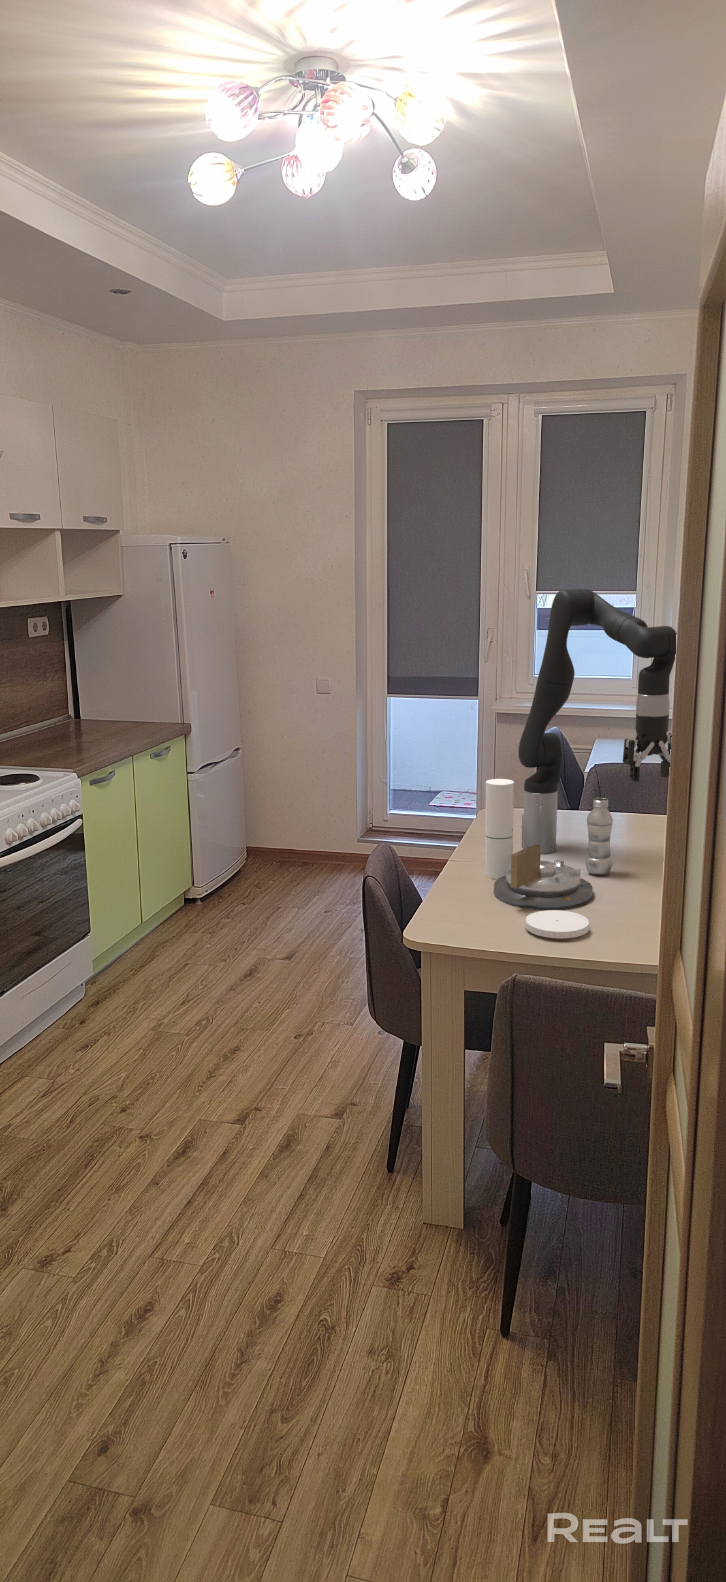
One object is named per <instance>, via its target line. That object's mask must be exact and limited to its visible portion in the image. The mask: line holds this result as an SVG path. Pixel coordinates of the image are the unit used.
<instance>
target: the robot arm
mask: <svg viewBox="0 0 726 1582" xmlns="http://www.w3.org/2000/svg"><path fill="white" fill-rule="evenodd" d="M548 621H549V622H548V629H547V634H546V635H547V636H546V642H545V646H544V647H545V648H544V652H543V656H542V657H543V658H542V661H541V664H540V669H539V672H538V677H537V680H536V685H535V690H534V696H533V700H532V703H531V706H530V710H529V713H528V717H527V720H526V722H525V726H524V728H523V731H522V734H521V737H520V740H519V745H518V753H517V754H518V760H519V762H520V764H521V765H522V766H523V767H524V768H529V769H530V768H531V769H532V768H533V769H534V768H538V769H537V770H536V771H535V772H534V774H532V775H531V776H529V777H527V778H526V779H525V780H524V783H523V788H524V789H523V814H522V815H521V847H522V850H523V849H525V848H527V847H530V846H532V845H534V844H537V845H541V852H540V854H550V853H554V852H555V851H556V850H557V833H558V832H557V830H558V829H557V828H558V827H557V826H558V825H557V824H558V792H559V790H558V789H559V788H558V786H559V783H560V780H561V772H562V771H561V770H562V758H563V747H562V742H561V739H560V738H559V736H558V735H557V734H556V733H554V732H546V729H547V728H548V725H549V724H550V722H551V721H552V719H554V717H555V716H556V714H558V712H559V711H560V710H561V709H562V708H563V706H564V705H565V704H566V702H567V701H568V700H569V698H570V693H571V692H572V691H571V690H572V686H573V682H574V681H575V680H574V679H575V668H574V665H573V661H572V658H571V656H570V653H569V650H568V643H567V642H568V637H569V636H568V635H569V633H570V632H569V631H570V628H571V627H573V626H575V627H576V626H577V627H578V626H579V627H580V626H586V625H594V626H599V627H602V629H603V631H604V633H605V634H606V636H608V637H609V638H610V639H611V640H614V641H615V642H617V643H619V644H621V645H624V646H626V648H627V649H628V650H630V652H631V653H632V654H633V655H635V656H636V657H638V658H642V659H652V662H651V664H650V665H648V666H646V667H644V668H642V669H640V671H638V677H637V678H638V681H637V698H636V705H635V707H636V708H635V728H634V729H635V732H636V733H635V734H636V737H635V738H628V737H627V738H625V739H624V741H623V742H624V743H623V752H622V753H623V754H622V762H623V764H626V765H629V767H630V769H629V778H630V779H631V781H632V782H635V783H639V782H640V771H641V768H640V767H641V766H640V765H641V764H642V761H643V760H645V759H646V757H648V756H653V755H658V756H659V758H660V760H661V761H660V774H659V775H660V776H661V778H664V779H666V778H669V775H670V774H669V767H670V768H671V764H670V749H671V737H672V734H673V733H672V732H669V725H670V724H669V723H670V693H669V692H670V676H671V673H672V670H673V667H674V664H675V661H676V658H675V654H676V634H677V635H678V633H677V631H676V630H675V628H673V627H672V626H668V625H663V626H662V625H661V626H659V625H658V626H648V625H647V623H646V622H645V621H644V620H643V619H642V618H640V617H637V616H635V615H633V614H630V613H627V612H625V611H623V610H621V609H618V608H617V607H615V606H614V605H612V604H611V603H609V602H608V601H607V600H606V599H604V598H603V597H601V595H599V594H597V593H596V592H594V591H592V590H591V589H587V588H571V589H568V588H567V589H562V590H559V591H558V592H557V593H556V594H555V596H554V598H553V600H552V604H551V608H550V614H549V620H548ZM676 655H677V654H676ZM668 732H669V733H668ZM666 744H667V746H665V745H666Z"/></svg>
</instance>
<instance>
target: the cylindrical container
mask: <svg viewBox="0 0 726 1582" xmlns="http://www.w3.org/2000/svg"><path fill="white" fill-rule="evenodd" d="M514 790H515V781H514V780H511V779H507V778H491V779H488V780H486V781H485V821H484V822H485V830H484V831H485V832H484V833H485V838H484V840H485V842H484V843H485V844H484V846H485V847H484V849H485V851H484V853H485V854H484V856H485V857H484V858H485V859H484V875H485V877H487V878H489V879H493V880H497V879H499V878H501V877H503V876H506V871H507V866H509V867H511V855H512V854H514V803H515V800H514V799H515V797H514V796H515V792H514Z"/></svg>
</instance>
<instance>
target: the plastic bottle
mask: <svg viewBox="0 0 726 1582" xmlns="http://www.w3.org/2000/svg"><path fill="white" fill-rule="evenodd" d="M592 801H593V802H592V803H593V804H592V809H591V811H590V812H589V813H588V814H587V817H586V824H587V826H586V827H587V832H588V834H587V835H588V837H587V838H588V846H587V847H588V848H587V855H586V858H585V859H586V860H585V868H586V871H587V872H588V873H589V874H591V875H598V876H605V875H608V874H609V873H610V872H611V870H612V867H613V862H612V856H611V834H612V828H613V823H614V818H613V816H612V813H611V812H610V811H609V808H608V807H609V799H608V798H605V797H604V798H603V797H595V798H593V800H592Z"/></svg>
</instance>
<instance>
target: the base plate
mask: <svg viewBox="0 0 726 1582" xmlns="http://www.w3.org/2000/svg"><path fill="white" fill-rule="evenodd" d="M593 891H594V890H593V885H592V884H591V883H590V882H589V881H587V880H586V879H584V878H582V877H580V889H579V890H578V891H576V892H574V893H572V894H568V895H563V896H554V897H540V896H530V895H525V894H521V893H517V892H515V891H512V890H510V889H509V888H508V887H507V886H506V876H503V877H501V878H499V879H495V881H494V883H493V895H494V897H495V898H496V899H497V900H499V901H500V902H503V903H504V904H506V905H509V906H512V907H517V908H522V909H528V910H535V911H536V910H538V911H546V910H559V911H560V910H561V911H563V910H569V909H574V908H578V907H581V906H584V905H586V904H588V903H590V902H591V900H592V899H593Z"/></svg>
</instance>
